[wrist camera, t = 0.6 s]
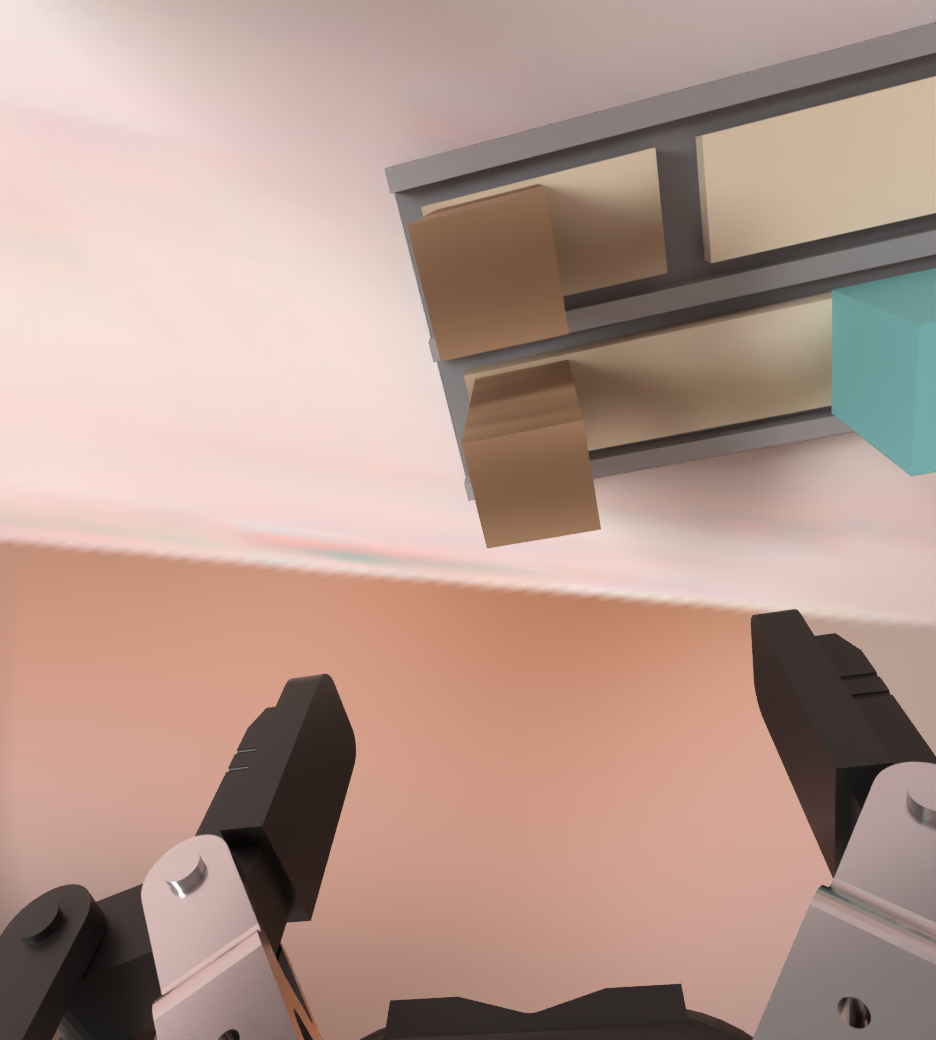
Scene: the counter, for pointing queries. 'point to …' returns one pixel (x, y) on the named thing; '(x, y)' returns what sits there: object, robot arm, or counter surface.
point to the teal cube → (888, 366)
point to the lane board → (731, 209)
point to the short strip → (604, 221)
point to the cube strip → (629, 406)
